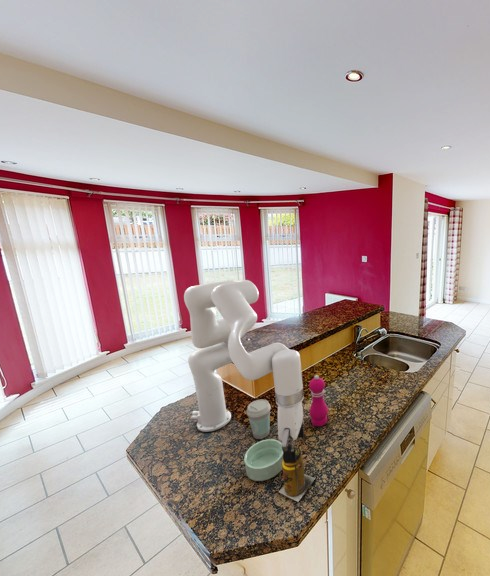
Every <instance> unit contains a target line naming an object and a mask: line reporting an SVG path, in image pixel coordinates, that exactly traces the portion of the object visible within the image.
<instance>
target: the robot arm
mask: <svg viewBox="0 0 490 576" xmlns="http://www.w3.org/2000/svg"><path fill="white" fill-rule="evenodd" d="M259 295H260V293H259V290H258V287H257V286H256V284H254V283H253V282H252V281H251V280H249V279H229V280H222V281H216V282H209V283H208V282H207V283H201V284H197V285H193V286H190V287H188V288H186V289H185V290H184V294H183V301H184V304H185V307H186V308H187V310H188V313H189V320H190V337H191V342H192V344H193V347H195V348H196V349H197V350H194V351H193V352H191V354H190V355H189V356H188V359H187V363H188V366H189V369H190V371H191V375H192V378H193V383H194V388H195V394H196V401H197V406H198V410H193V411H191V420H197V422H196V428H197V430H199V431H200V432H202V433H203V432H204V433H209V432H214V431H217V430H219V429H220V430H221V429H222V428H223V427H225V426H227V424H228V423H229V422H230V421H231V419H232V413H231V411H229V410H228V409H227V405H226V398H225V393H224V392H225V391H224V384H223V378H222V377H221V375H219V374H218V373H216V372H215V371H216V370H218V369H220V368H222V367H225V366H227V365H231V364H232V363H233V364H234V365H233V366H235V368H236V369H237V371H238V372H239V374H240V376H242V377H243V378H244V379H245V380H247V381H251V382H252V381H257V380H258V379H260V378H263V377H265V376H266V375H268V374H269V375H270V374H271V373H272V376H273V385H274V393H275V394H274V395H275V403H276V405H277V433H278V434H277V435H278V441H280V442H281V443H282V445H281V447H282V450H283V455H284V462H285V463H296V451H295V449H294V447H295V441H296V440H297V439H298V438H304V436H305V432H304V431H305V430H304V424H303V423H304V409H303V408H304V407H303V401H304V398H305V396H304V385H303V373H302V363H301V355H300V353H299V352H298V351H297V350H296V349H290V348H288V347H287V346H286V345H284V344H283V343H281V342H273V343H270V344H267V345H265V346H263V347H260V348H257V349H255V350H252V351H250V352H248V351H247V350H246V349H245V347H244V346H243V343H242V341H241V339H242V338H243V336H244V335H246V334H247V333H248V332H249V331H250V330H251V329H253V327H254V326H255V325H256V323H257V321H258V314H257V313H256V311H255V310H254V309H253V308H252V306H251V305H252V304H255V303H256V302H257V301H258V300H259V297H260V296H259ZM216 309H217V311H218V313H219V314H220V315H221V317H219V318H217V311H216ZM289 441H291V443H290V445H289Z"/></svg>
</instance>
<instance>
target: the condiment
mask: <svg viewBox="0 0 490 576" xmlns="http://www.w3.org/2000/svg"><path fill="white" fill-rule="evenodd" d="M294 449H295V451H296V463H285V462H284V455H283V462H282V477H283V485H282V487H281V488H280V490H278V493H279V494H281V495H283V496H285V497H286V498H289V499H291V500H293V501H295V502H297V503H299V501H301V499H302V498H303V496H304V495H305V494H306V493H307V491H308V490H309V488H310V487H311V485H312V484H313V483H314V481H315V480H316V477H313V476H312V475H311V476H310V475H308V474H306V473H305V464H304V458H303V456H302V450H301V448H299V447H298V446H294Z"/></svg>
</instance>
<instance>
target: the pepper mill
mask: <svg viewBox="0 0 490 576" xmlns="http://www.w3.org/2000/svg"><path fill="white" fill-rule="evenodd" d="M308 387H309V389H310V395H311V396H312V403H311V404H310V407H309V416H310V420H311V421H310V422H311V425H312V426H314V427H322V426H324V425H326V424H327V422H328V414H329V409H328V406H327V405H328V404H327V403H326V402H325V399H324V395H325V387H326V383H325V381H324V379H323V378H321V377H320V376H319V375H318V374H315V375H314V377H313V378H312V379H311V380H310V381H309V385H308Z"/></svg>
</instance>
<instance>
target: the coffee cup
mask: <svg viewBox="0 0 490 576" xmlns="http://www.w3.org/2000/svg"><path fill="white" fill-rule="evenodd" d="M271 407H272V406H271V404H270V403H269V401H268V400H266V399H255V400H254V401H252V402H250V403H249V404H248V405H247V408H246V416H247V417H248V421H249V425H250V429H251V433H252V437H253V438H254V439H255V440H261V439H262V440H263V439H265V438H266V437H268V436H269V434H270V425H271V424H270V423H271V422H270V421H271V420H270V419H271V409H272V408H271Z"/></svg>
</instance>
